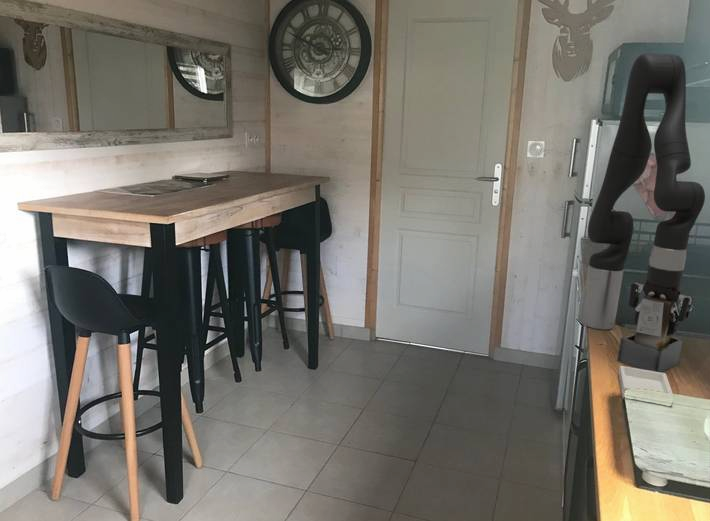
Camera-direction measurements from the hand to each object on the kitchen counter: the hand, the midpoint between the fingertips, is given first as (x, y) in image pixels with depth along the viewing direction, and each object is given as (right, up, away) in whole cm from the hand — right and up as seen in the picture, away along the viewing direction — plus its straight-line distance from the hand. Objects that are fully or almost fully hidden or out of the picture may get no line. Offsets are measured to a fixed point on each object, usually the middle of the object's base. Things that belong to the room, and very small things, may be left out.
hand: (654, 330), depth 148 cm
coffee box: (0, -7, +2) cm, 8 cm away
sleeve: (0, -8, +2) cm, 8 cm away
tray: (-9, -12, -14) cm, 21 cm away
